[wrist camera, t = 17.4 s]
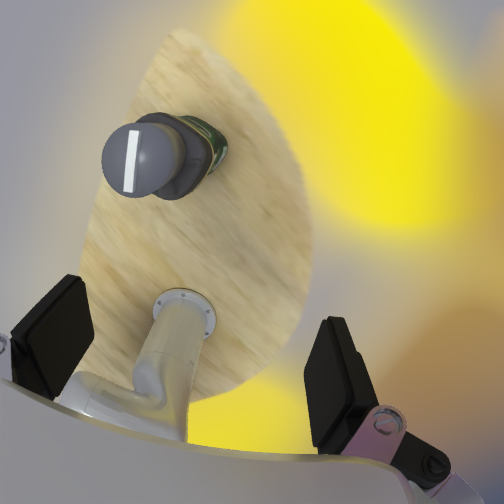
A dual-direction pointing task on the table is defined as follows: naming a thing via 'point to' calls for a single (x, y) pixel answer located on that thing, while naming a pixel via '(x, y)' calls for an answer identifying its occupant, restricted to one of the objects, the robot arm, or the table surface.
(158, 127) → the lid
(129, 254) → the table surface
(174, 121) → the coffee jar
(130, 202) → the table surface
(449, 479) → the robot arm
